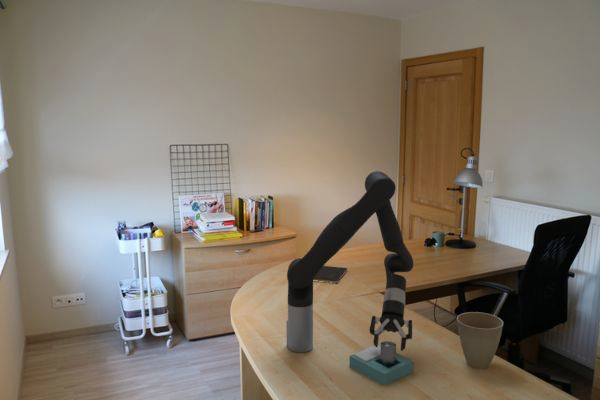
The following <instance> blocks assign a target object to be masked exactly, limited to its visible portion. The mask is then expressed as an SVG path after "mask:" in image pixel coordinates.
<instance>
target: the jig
mask: <svg viewBox="0 0 600 400" xmlns="http://www.w3.org/2000/svg"><path fill="white" fill-rule="evenodd" d="M380 354H381V344H379V343H378V347H375V345H373V346H370V347H368V348H365V349H363V350H360V351H358V352H355V353H353V354H351V355H349V367H350V368H351V369H353V370H355V371H356V372H358V373H360V374H362V375H364V376H366V377H367V378H369V379H371V380H373V381H375V382H376V383H378V384H380V385H382V386H384V387H385V386H387V385H389V384H391V383H393V382H395V381H398V380H400V379H402V378H403V377H405V376H408V375H410V374H413V372H414V360H412V359H410V358H408V357H406V356H404V355H402V354H399V353H397V352H396V364H395V366H393V367H390V368H387V367H385V366H383V365H381V364H380Z"/></svg>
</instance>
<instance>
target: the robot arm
mask: <svg viewBox="0 0 600 400" xmlns="http://www.w3.org/2000/svg"><path fill="white" fill-rule="evenodd" d="M364 189H365V193H364V194H363V195H362V196H361V198H360V199H359V200H358V201H357V202H356V203H354V205H352V206H351V207H348V208H347V209H345V210H343V211H341V212H339V213H338V214H337V215H335V216H334V218H332V220H330V222H329V223H328V224H327V225H326V226H325V227H324V229H323V230H322V232H320V234H319V236H318V237H317V238H316V240H315V242H314V243H313V244H312V246H311V248H310V249H309V250H308V251H307V252H306V254H304V256H302V257H299V258H295V259H293V260H292V261H291V262H290V263H289V265H288V268H287V272H286V273H287V274H286V278H287V284H288V285H287V320H286V346H287V348H288V350H289V351H291V352H294V353H308V352H309V351H311V350H313V348H314V281H313V279H314V277H315V276H316V275H317V273H318V272H319V271H320V269H321V268H322V267H323V266H326V264H327V263H328V261H330V260H331V259H332V258H333V257H334V256H335V255H336V254H337V253H339V251H340V250H342V248H343V247H344V246H345V245H346V244H347V243H348V242H349V241H351V239H352V238H353V237H354V236H355V234H356V233H357V232H358V231H359V230H360V229H361V228H362V227H363V226H364V225H365V223H367V221H368V220H369V219H370V218H371V217H372V216H373V215H374V214H376V215H375V216H376V218H377V221H378V226H379V231H380V234H381V238H382V242H383V246H384V249H385V251H387V252H390V253H388V254H386V255H385V257H384V259H383V264H384V269H385V276H386V282H385V284H386V285H385V291H384V295H383V303H382V309H381V310H382V311H381V316H380V317H376V315H372V317H371V321H370V324H369V325H370V326H369V329H368V330H369V333H370V335H373V336H374V337H373V346H375V347H378V344H379V340H380V337H379V336H380V335H381V334H383V333H384V332H388V333H389V332H391V333H398V334H399V336H400V337H401V339H400V340H401V342H400V351H404V350H405V349H406V344H407V340H412V339H413V319H409V320H404V318H405V317H404V316H405V308H406V307H405V306H406V291H407V290H406V289H407V279H406V278H405V277H404V276H403V275H401V274H396V273H408V272H411V271H412V270H413V267H414V259H413V256H412V255H411V252H410V251H409V250H408V248H407V246H406V244H405V242H404V238H403V235H402V230H401V227H400V224H399V222H398V220H397V216H396V215H395V214H396V213H395V212H394V210H393V209H394V208H393V206H392V202H391V199H392V198H393V196H394V195H395V194H396V193H395V192H396V189H397V188H396V184H395V181H394V180H393V179H392V178H391V177H389V175H387V174H386V173H385V172H382V171H379V170H375V171H372V172H370V173H369V174H367V176H366V178H365V181H364ZM379 322H380V325H379V326H378V328H376V325H377V324H379ZM404 326H405V327H406V328H408V329H407V330H408V331H407V332H408V333H405V331H404V330H403V329H404V328H403V327H404ZM375 328H376V330H375Z"/></svg>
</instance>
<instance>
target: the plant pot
mask: <svg viewBox="0 0 600 400" xmlns="http://www.w3.org/2000/svg"><path fill="white" fill-rule="evenodd" d="M456 322H457V329H458V335H459V341H460V345H461V349H462V351H463V356H464V357H465V361H466V365H468V366H470V367H471V368H474V369H479V368H480V369H479V370H483V368H484V369H487V367H488V368H489V367H490V366H491V364H492V361H493V359H494V357H495V355H496V352H497V350H498V346H499V345H500V344H499V343H500V340H501V337H502V332H503V327H504V321H503V320H502V319H501V318H500V317H498V316H497V315H493V314H491V313H486V312H479V311H475V312H474V311H470V312H463V313H460V314H459V315H457V317H456Z"/></svg>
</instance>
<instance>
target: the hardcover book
mask: <svg viewBox="0 0 600 400" xmlns="http://www.w3.org/2000/svg"><path fill="white" fill-rule="evenodd" d="M347 270H348V267H340V266H329V265H324V266H323V267H322V268H321V269H320V271H319V272H318V273H317V275H316V276H315V277H314V279H313V280H318V281H325V282H332V283H331V284H334V283H337V284H338V283H339V281H340V280H341V279H342V278H341V277H343V276H344V275H346V273H347V272H348V271H347ZM340 278H341V279H340ZM339 279H340V280H339Z"/></svg>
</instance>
